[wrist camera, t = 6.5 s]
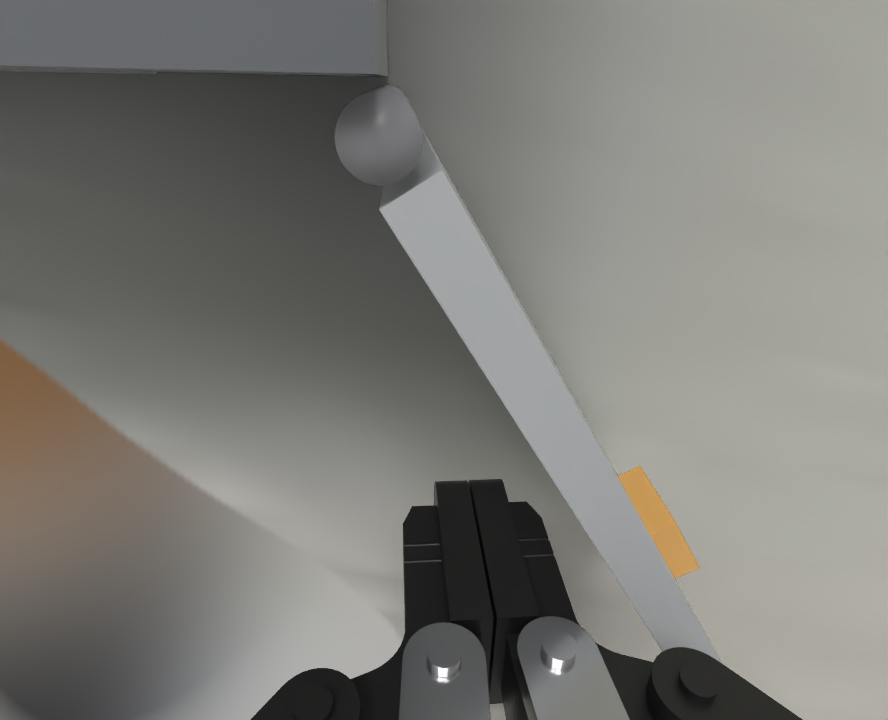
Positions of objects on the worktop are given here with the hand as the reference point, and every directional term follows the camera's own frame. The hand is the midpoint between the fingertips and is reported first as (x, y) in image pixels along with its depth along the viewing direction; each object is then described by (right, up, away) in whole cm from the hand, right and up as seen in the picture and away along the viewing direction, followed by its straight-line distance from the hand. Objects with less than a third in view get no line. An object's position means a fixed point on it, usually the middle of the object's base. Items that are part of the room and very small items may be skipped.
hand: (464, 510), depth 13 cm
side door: (+1, +5, +2) cm, 5 cm away
